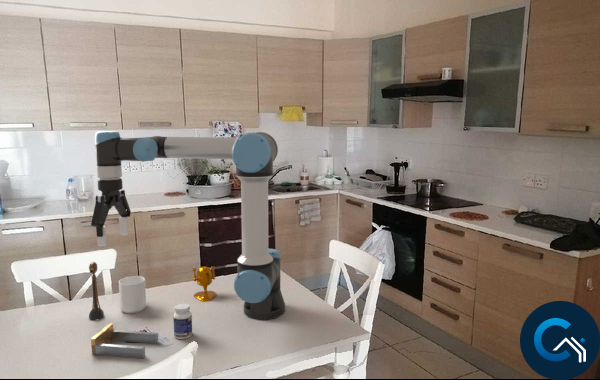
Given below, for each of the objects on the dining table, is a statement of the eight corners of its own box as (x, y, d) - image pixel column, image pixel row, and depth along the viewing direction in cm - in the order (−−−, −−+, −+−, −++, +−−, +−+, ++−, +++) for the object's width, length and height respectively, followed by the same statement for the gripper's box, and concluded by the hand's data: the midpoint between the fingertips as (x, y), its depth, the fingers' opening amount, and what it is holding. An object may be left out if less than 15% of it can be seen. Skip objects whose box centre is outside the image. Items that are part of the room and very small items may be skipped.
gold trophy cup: (214, 290, 179) (213, 261, 178) (217, 300, 169) (216, 270, 167) (193, 292, 177) (192, 263, 175) (194, 302, 167) (193, 272, 165)
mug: (142, 314, 156) (141, 284, 155) (116, 314, 156) (115, 284, 154) (151, 300, 168) (150, 272, 167) (127, 301, 168) (126, 273, 166)
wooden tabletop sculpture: (101, 320, 151) (98, 264, 148) (87, 322, 150) (83, 265, 147) (105, 313, 157) (101, 259, 154) (90, 314, 156) (87, 260, 153)
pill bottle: (192, 338, 139) (191, 308, 138) (174, 340, 138) (172, 310, 136) (191, 330, 145) (190, 301, 143) (173, 332, 143) (172, 303, 142)
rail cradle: (158, 341, 137) (157, 326, 136) (143, 358, 127) (142, 342, 127) (110, 338, 139) (109, 323, 138) (92, 354, 129) (90, 338, 129)
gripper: (119, 173, 158) (122, 231, 161) (75, 183, 134) (80, 250, 137) (138, 174, 157) (141, 231, 161) (98, 183, 133) (103, 251, 136)
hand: (113, 240), depth 149 cm, fingers open, 13 cm apart
